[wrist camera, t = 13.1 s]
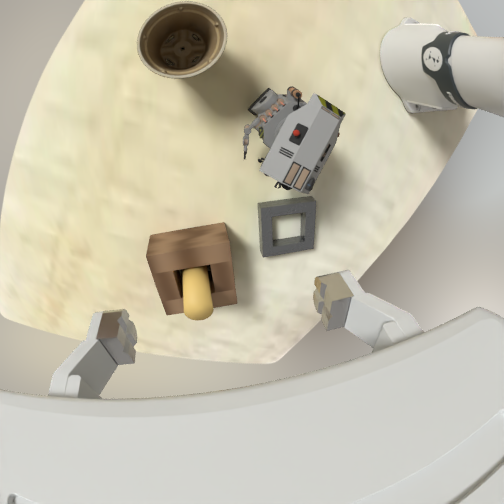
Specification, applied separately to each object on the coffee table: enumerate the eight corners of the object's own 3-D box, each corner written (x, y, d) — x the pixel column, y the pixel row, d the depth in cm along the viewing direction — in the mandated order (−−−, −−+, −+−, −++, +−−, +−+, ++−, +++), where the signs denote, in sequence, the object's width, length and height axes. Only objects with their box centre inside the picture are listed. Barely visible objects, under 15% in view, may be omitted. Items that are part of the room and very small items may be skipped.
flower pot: (230, 30, 28) (241, 15, 21) (203, 89, 32) (207, 88, 25) (164, 13, 24) (158, -7, 17) (138, 72, 28) (123, 68, 21)
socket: (224, 222, 44) (229, 242, 39) (232, 280, 50) (237, 303, 46) (150, 235, 42) (146, 256, 37) (167, 291, 49) (166, 315, 44)
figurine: (219, 138, 36) (236, 167, 24) (274, 80, 33) (321, 78, 21) (266, 176, 41) (302, 221, 29) (317, 122, 37) (375, 144, 25)
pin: (203, 247, 45) (210, 296, 36) (207, 267, 48) (215, 317, 38) (180, 252, 45) (180, 302, 35) (184, 271, 47) (187, 322, 37)
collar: (311, 196, 44) (316, 201, 43) (309, 242, 49) (313, 248, 48) (257, 203, 43) (260, 208, 41) (260, 250, 48) (263, 257, 46)
